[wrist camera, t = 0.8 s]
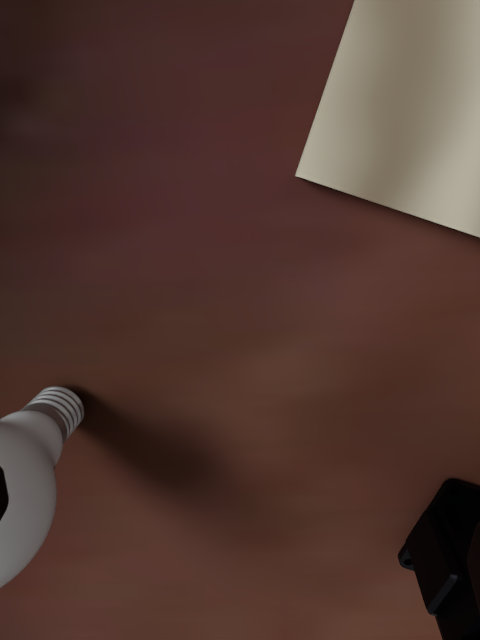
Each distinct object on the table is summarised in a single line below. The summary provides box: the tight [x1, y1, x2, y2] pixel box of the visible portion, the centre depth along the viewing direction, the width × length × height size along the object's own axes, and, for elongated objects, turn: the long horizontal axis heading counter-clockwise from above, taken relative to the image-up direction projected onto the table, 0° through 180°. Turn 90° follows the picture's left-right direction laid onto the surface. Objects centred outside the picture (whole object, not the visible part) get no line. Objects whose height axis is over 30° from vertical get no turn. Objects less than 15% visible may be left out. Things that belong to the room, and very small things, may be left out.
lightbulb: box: [0, 386, 84, 588], centre depth 18 cm, size 6×6×11 cm
